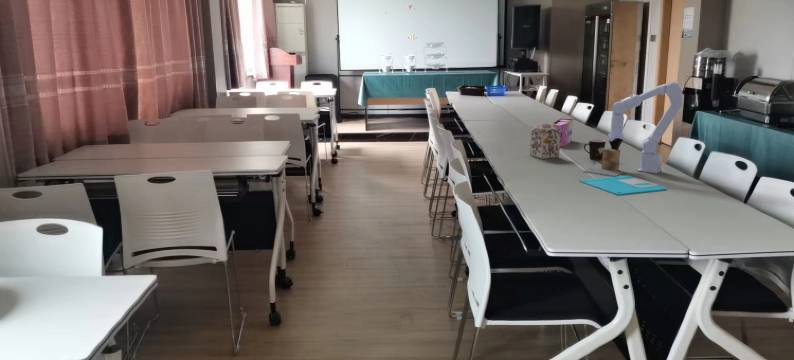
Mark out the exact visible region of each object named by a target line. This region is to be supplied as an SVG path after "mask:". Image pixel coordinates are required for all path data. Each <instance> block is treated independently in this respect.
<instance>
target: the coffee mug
mask: <svg viewBox="0 0 794 360" xmlns="http://www.w3.org/2000/svg"><path fill="white" fill-rule="evenodd" d="M606 142H607V140H605V139H599V138H591V139H589V140H588V143H585V144H584V147H583V149H584V151H585V152H586V153H587V154H589V160H592V161H602V158H603V149H606V147H605V146H606V144H607V143H606ZM587 145H588V146H589V147H588V148H589V149H588V150H589V151H588V150H587V149H586V146H587Z"/></svg>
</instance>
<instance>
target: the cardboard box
mask: <svg viewBox="0 0 794 360" xmlns="http://www.w3.org/2000/svg"><path fill="white" fill-rule="evenodd" d="M620 158H621V150H620V149H619V150H616V149H611V148H607V147H605V148H604V149H603V158H602V160H601V169H604V170H611V171H619V168H620V167H619V166H620Z"/></svg>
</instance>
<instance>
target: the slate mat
mask: <svg viewBox="0 0 794 360" xmlns="http://www.w3.org/2000/svg"><path fill="white" fill-rule="evenodd" d="M582 172H583V173H589V174H593V175H594V174H595V175H601V176H602V175H603V176H606V177H607V176H609V177H618V176H621V175H622V174H623V175H624V171H619V170H617V171H611V170H604V169H602V168H597V167H590V168H587V169H584V170H583V171H582Z"/></svg>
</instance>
